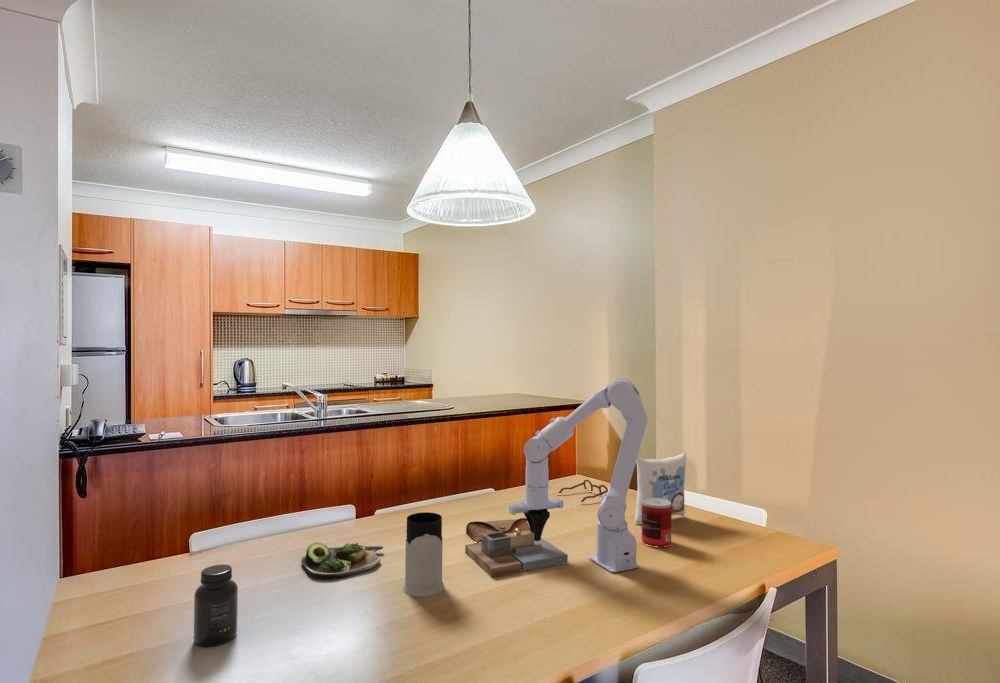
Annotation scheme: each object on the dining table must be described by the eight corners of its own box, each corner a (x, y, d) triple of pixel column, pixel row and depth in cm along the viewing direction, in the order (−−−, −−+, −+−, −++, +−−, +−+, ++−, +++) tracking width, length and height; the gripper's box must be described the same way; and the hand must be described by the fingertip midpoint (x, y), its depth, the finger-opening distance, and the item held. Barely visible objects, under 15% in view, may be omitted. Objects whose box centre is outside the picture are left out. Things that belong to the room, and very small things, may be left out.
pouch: (626, 520, 166) (626, 453, 166) (677, 513, 173) (678, 449, 173) (642, 528, 158) (642, 458, 158) (695, 521, 165) (696, 454, 165)
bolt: (534, 547, 136) (534, 528, 136) (508, 552, 133) (509, 532, 133) (529, 544, 138) (529, 525, 139) (504, 548, 136) (504, 529, 136)
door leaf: (567, 563, 132) (567, 550, 133) (523, 571, 127) (523, 558, 127) (535, 541, 147) (535, 530, 147) (494, 548, 142) (494, 536, 142)
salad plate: (371, 544, 145) (371, 526, 145) (398, 567, 130) (398, 547, 130) (294, 559, 134) (294, 540, 134) (314, 586, 119) (314, 565, 119)
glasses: (609, 500, 188) (610, 486, 188) (579, 506, 181) (579, 491, 181) (585, 491, 199) (585, 478, 199) (555, 496, 193) (556, 482, 193)
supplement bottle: (243, 627, 101) (244, 561, 101) (226, 648, 94) (227, 577, 94) (205, 627, 101) (206, 561, 101) (185, 648, 94) (186, 577, 94)
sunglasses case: (473, 544, 144) (470, 518, 148) (467, 549, 150) (464, 524, 153) (537, 537, 150) (533, 513, 153) (529, 543, 155) (525, 519, 159)
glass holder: (405, 599, 113) (405, 525, 113) (398, 571, 127) (399, 505, 127) (447, 594, 115) (448, 522, 115) (436, 567, 129) (437, 503, 129)
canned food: (668, 538, 150) (668, 497, 150) (674, 549, 142) (674, 506, 142) (639, 537, 151) (639, 496, 151) (644, 547, 143) (644, 505, 143)
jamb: (521, 571, 127) (521, 544, 127) (491, 577, 124) (492, 549, 124) (492, 548, 142) (492, 524, 142) (465, 552, 138) (465, 528, 138)
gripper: (553, 478, 145) (553, 530, 145) (503, 484, 139) (503, 538, 139) (568, 485, 138) (567, 539, 138) (516, 491, 132) (515, 547, 132)
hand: (536, 539), depth 138 cm, fingers closed
